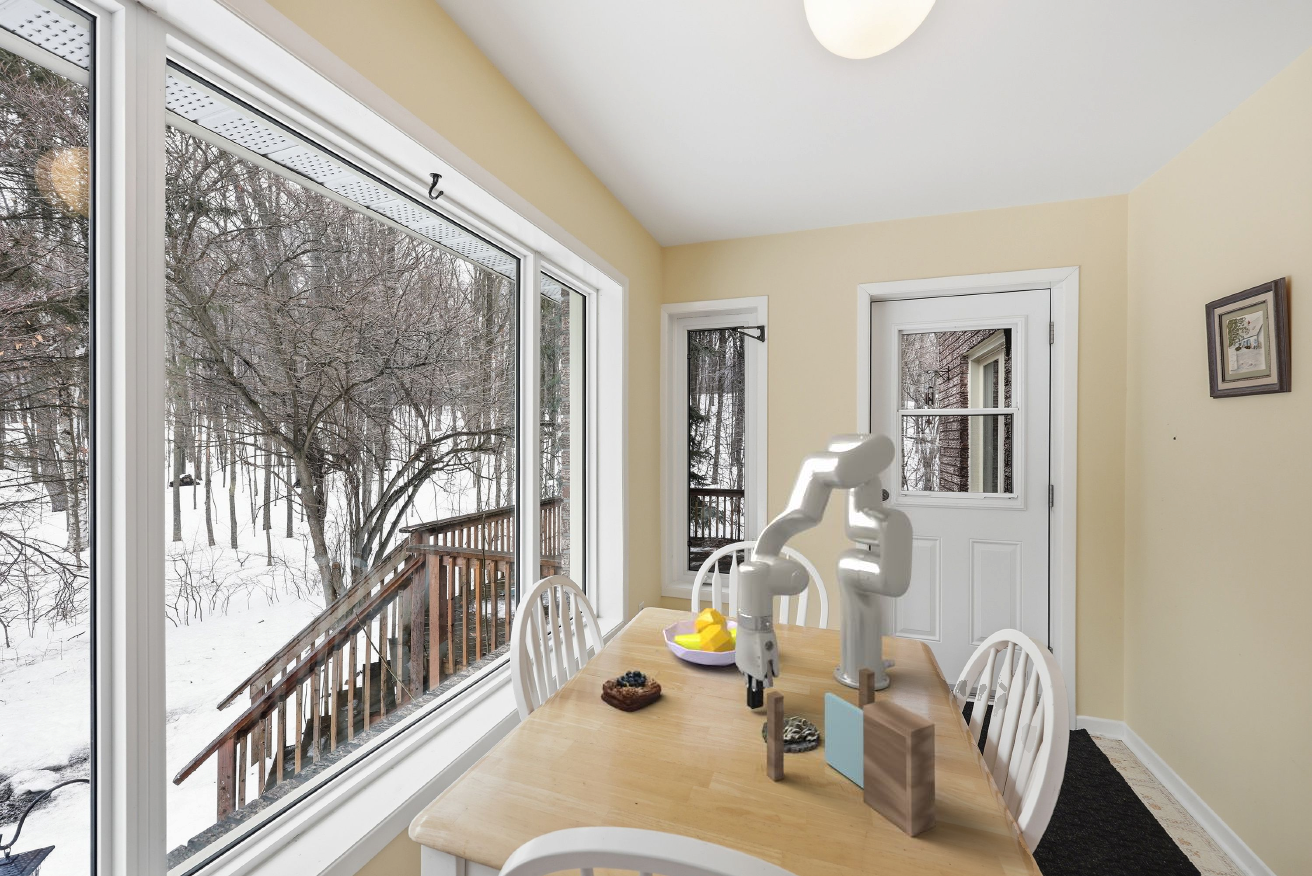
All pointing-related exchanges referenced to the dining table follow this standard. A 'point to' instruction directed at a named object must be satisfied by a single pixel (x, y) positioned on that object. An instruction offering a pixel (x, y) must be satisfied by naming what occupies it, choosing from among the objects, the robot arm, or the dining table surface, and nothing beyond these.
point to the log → (797, 735)
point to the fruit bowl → (704, 639)
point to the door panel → (844, 737)
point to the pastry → (631, 691)
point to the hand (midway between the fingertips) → (755, 706)
